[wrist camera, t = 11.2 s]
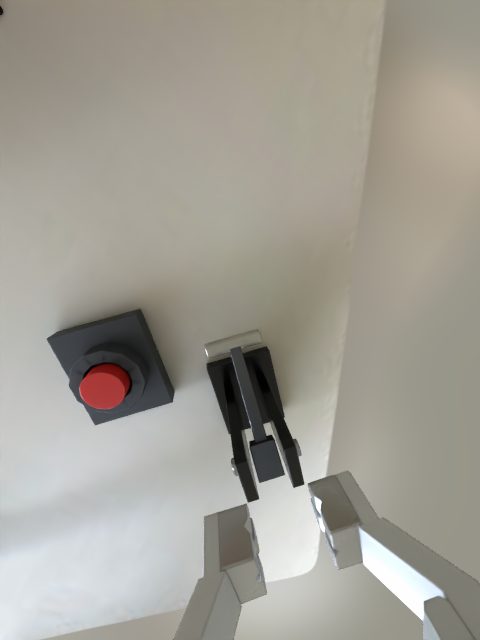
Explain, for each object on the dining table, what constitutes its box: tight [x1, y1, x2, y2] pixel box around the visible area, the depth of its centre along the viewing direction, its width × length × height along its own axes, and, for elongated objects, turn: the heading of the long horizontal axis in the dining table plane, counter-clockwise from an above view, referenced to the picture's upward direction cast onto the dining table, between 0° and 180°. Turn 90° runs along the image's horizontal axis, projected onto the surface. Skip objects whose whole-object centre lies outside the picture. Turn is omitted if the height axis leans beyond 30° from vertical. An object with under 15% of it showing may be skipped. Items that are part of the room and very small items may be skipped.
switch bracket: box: [207, 346, 304, 502], centre depth 26 cm, size 10×8×12 cm
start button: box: [80, 364, 130, 409], centre depth 25 cm, size 4×4×2 cm
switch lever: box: [205, 329, 285, 483], centre depth 23 cm, size 13×6×2 cm
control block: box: [47, 309, 174, 425], centre depth 27 cm, size 11×9×4 cm
